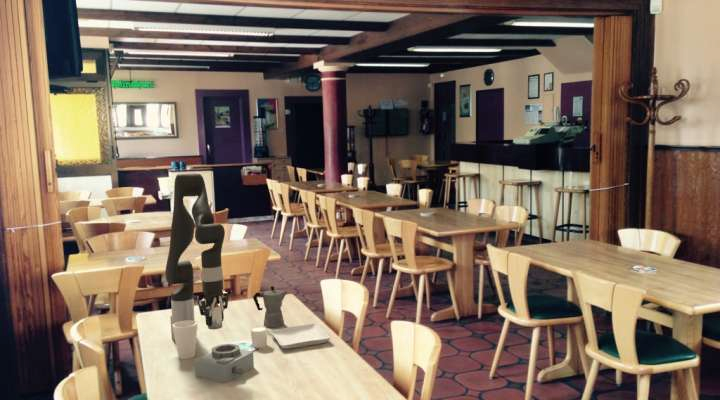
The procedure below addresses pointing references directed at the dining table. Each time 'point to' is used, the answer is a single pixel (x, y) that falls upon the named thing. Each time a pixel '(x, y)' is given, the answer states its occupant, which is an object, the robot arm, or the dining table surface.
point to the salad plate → (300, 336)
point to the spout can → (216, 317)
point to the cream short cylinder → (259, 337)
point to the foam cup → (185, 338)
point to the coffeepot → (271, 307)
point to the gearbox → (224, 363)
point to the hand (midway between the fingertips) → (215, 323)
